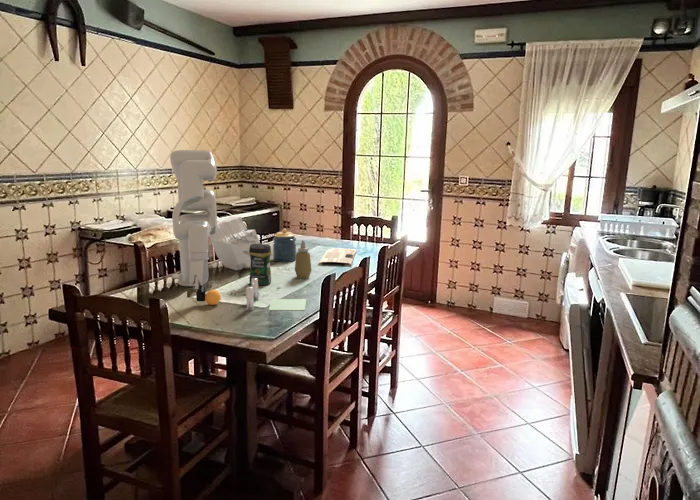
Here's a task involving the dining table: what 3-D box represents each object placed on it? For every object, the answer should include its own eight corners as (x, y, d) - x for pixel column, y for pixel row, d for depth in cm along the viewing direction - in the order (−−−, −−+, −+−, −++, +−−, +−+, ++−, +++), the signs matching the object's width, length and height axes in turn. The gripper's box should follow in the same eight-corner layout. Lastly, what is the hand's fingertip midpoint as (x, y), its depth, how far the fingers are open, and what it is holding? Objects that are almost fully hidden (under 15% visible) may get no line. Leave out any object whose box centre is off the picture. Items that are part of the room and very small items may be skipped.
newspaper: (351, 267, 268) (351, 262, 268) (315, 266, 270) (315, 261, 269) (356, 253, 304) (356, 248, 303) (324, 252, 306) (324, 247, 305)
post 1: (246, 310, 192) (245, 288, 190) (247, 308, 195) (246, 286, 193) (253, 310, 192) (252, 288, 190) (254, 308, 195) (253, 286, 193)
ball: (203, 306, 196) (203, 292, 195) (207, 302, 202) (206, 287, 201) (219, 307, 196) (218, 292, 195) (222, 302, 202) (221, 288, 201)
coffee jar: (247, 284, 229) (246, 244, 225) (254, 280, 236) (253, 241, 232) (266, 286, 226) (266, 246, 223) (273, 282, 234) (273, 243, 230)
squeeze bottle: (311, 275, 248) (311, 239, 244) (311, 279, 240) (311, 242, 236) (295, 274, 248) (295, 239, 244) (294, 279, 240) (293, 242, 236)
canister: (298, 257, 286) (298, 227, 283) (293, 262, 274) (293, 230, 270) (276, 256, 287) (275, 226, 284) (270, 261, 275) (269, 230, 271)
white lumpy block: (268, 262, 260) (252, 219, 250) (243, 277, 251) (226, 232, 241) (246, 256, 275) (231, 215, 264) (222, 270, 265) (205, 228, 255)
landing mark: (268, 310, 193) (268, 309, 193) (272, 299, 207) (272, 299, 207) (304, 310, 194) (304, 309, 194) (306, 299, 208) (306, 299, 208)
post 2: (251, 300, 205) (250, 279, 203) (252, 298, 208) (251, 277, 206) (257, 300, 205) (257, 279, 203) (258, 298, 208) (258, 277, 206)
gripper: (195, 251, 202) (197, 295, 206) (183, 259, 187) (185, 306, 191) (213, 251, 202) (215, 295, 206) (203, 259, 188) (205, 306, 191)
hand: (201, 300), depth 198 cm, fingers closed
